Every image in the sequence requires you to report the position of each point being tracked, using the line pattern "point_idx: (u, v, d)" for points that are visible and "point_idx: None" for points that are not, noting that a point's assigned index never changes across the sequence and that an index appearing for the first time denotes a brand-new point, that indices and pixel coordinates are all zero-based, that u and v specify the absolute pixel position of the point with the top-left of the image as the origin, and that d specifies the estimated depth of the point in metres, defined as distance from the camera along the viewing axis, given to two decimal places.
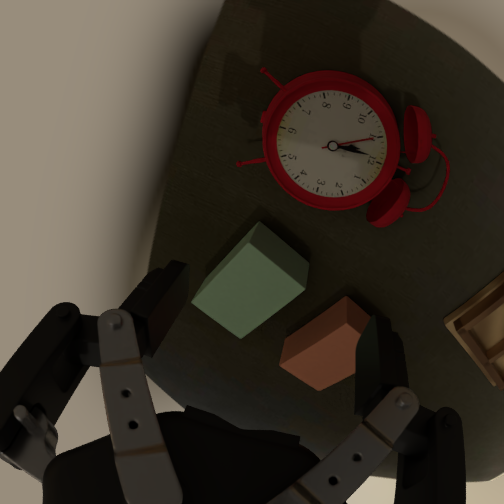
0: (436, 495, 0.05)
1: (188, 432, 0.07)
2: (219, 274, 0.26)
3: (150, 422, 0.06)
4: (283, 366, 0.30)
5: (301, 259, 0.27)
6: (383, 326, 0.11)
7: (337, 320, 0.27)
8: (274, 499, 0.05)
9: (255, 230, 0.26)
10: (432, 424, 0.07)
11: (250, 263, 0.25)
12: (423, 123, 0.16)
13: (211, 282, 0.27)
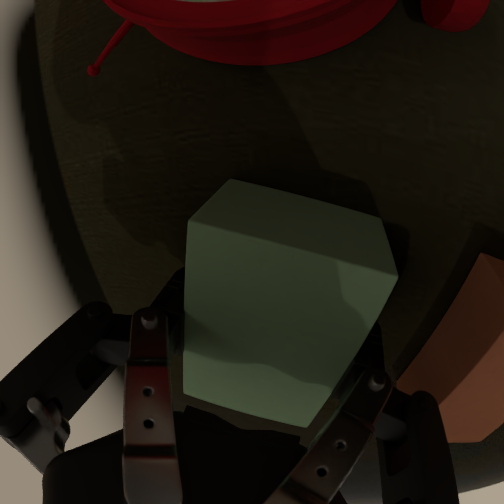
0: (424, 480, 0.06)
1: (188, 432, 0.07)
2: (186, 327, 0.11)
3: (165, 424, 0.06)
4: None
5: (359, 216, 0.11)
6: None
7: (490, 313, 0.09)
8: (267, 500, 0.05)
9: (215, 194, 0.10)
10: (407, 410, 0.08)
11: (225, 273, 0.09)
12: None
13: (185, 348, 0.11)
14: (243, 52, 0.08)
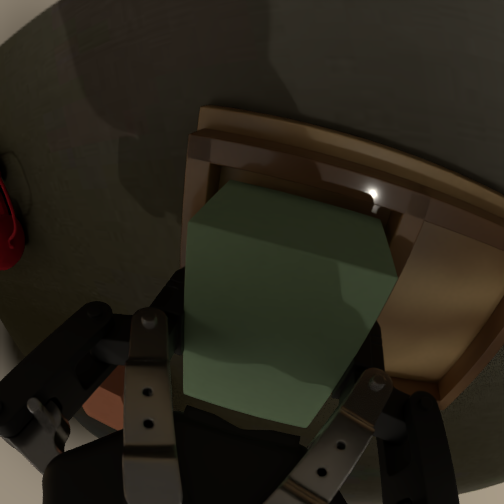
0: (424, 480, 0.06)
1: (188, 432, 0.07)
2: (186, 328, 0.11)
3: (165, 424, 0.06)
4: (89, 415, 0.25)
5: (358, 217, 0.11)
6: None
7: None
8: (267, 500, 0.05)
9: (215, 195, 0.10)
10: (408, 410, 0.08)
11: (225, 274, 0.09)
12: None
13: (185, 349, 0.11)
14: None
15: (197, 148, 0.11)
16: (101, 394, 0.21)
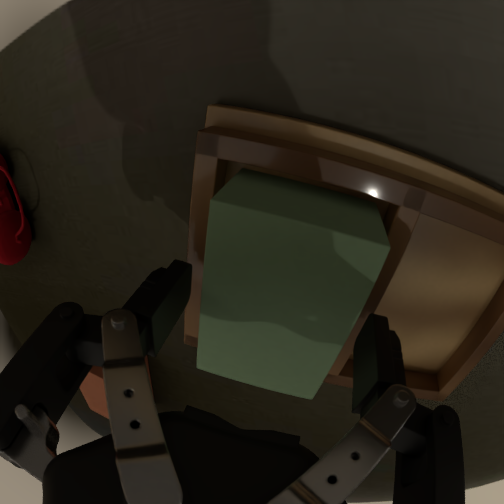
0: (435, 493, 0.05)
1: (188, 432, 0.07)
2: (203, 299, 0.12)
3: (152, 422, 0.06)
4: (92, 409, 0.26)
5: (356, 200, 0.12)
6: (380, 324, 0.11)
7: None
8: (273, 499, 0.05)
9: (231, 180, 0.12)
10: (429, 422, 0.07)
11: (242, 246, 0.10)
12: None
13: (201, 320, 0.13)
14: None
15: (205, 144, 0.11)
16: None
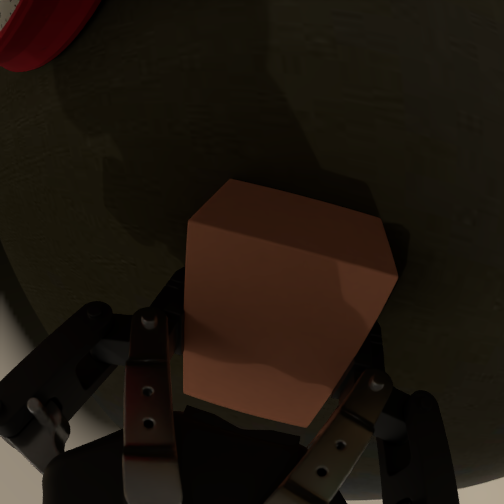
0: (424, 480, 0.06)
1: (188, 432, 0.07)
2: None
3: (165, 424, 0.06)
4: (191, 393, 0.13)
5: None
6: None
7: None
8: (267, 500, 0.05)
9: None
10: (407, 410, 0.08)
11: None
12: None
13: None
14: (20, 63, 0.09)
15: None
16: (313, 295, 0.09)
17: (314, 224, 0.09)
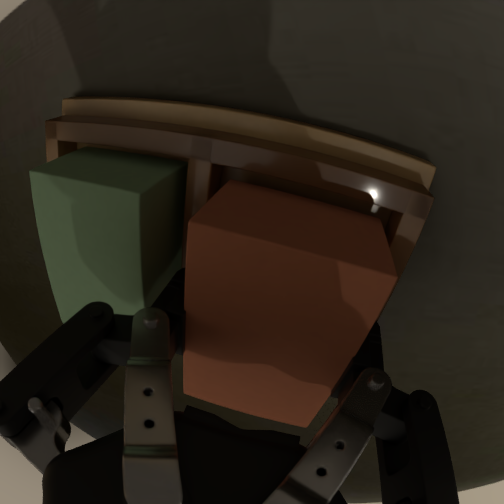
0: (423, 480, 0.06)
1: (188, 432, 0.07)
2: (44, 254, 0.12)
3: (166, 424, 0.06)
4: (191, 393, 0.13)
5: (163, 161, 0.12)
6: None
7: None
8: (267, 500, 0.05)
9: None
10: (406, 409, 0.08)
11: (49, 205, 0.11)
12: None
13: (49, 274, 0.13)
14: None
15: (49, 130, 0.12)
16: (312, 296, 0.09)
17: (313, 225, 0.10)
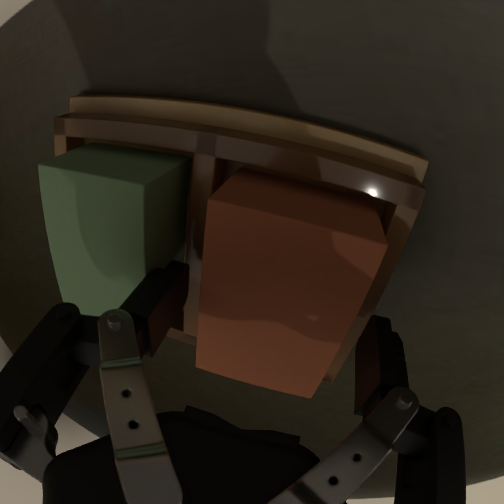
0: (436, 495, 0.05)
1: (188, 432, 0.07)
2: (50, 245, 0.13)
3: (150, 422, 0.06)
4: (202, 366, 0.14)
5: (166, 156, 0.13)
6: (383, 326, 0.11)
7: None
8: (274, 499, 0.05)
9: (69, 151, 0.13)
10: (432, 424, 0.07)
11: (57, 197, 0.11)
12: None
13: (54, 265, 0.14)
14: None
15: (58, 127, 0.12)
16: (315, 263, 0.10)
17: (314, 203, 0.11)
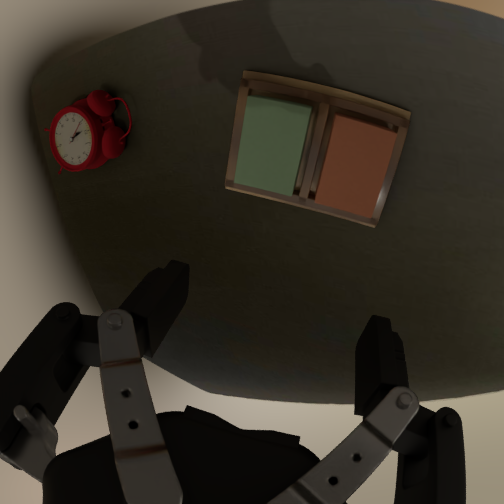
0: (436, 495, 0.05)
1: (188, 432, 0.07)
2: (241, 137, 0.28)
3: (150, 422, 0.06)
4: (318, 201, 0.30)
5: (303, 104, 0.29)
6: (383, 326, 0.11)
7: (332, 125, 0.27)
8: (274, 499, 0.05)
9: (253, 95, 0.28)
10: (432, 424, 0.07)
11: (258, 112, 0.27)
12: (88, 98, 0.30)
13: (239, 150, 0.29)
14: (86, 168, 0.38)
15: (244, 83, 0.28)
16: (372, 139, 0.26)
17: (369, 123, 0.26)
